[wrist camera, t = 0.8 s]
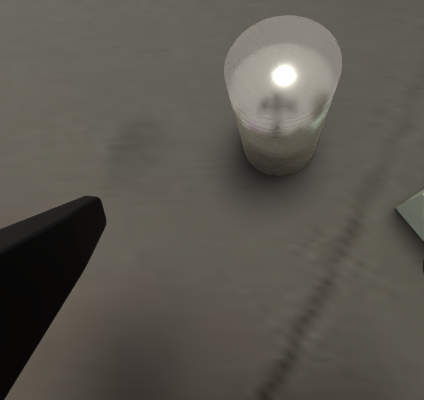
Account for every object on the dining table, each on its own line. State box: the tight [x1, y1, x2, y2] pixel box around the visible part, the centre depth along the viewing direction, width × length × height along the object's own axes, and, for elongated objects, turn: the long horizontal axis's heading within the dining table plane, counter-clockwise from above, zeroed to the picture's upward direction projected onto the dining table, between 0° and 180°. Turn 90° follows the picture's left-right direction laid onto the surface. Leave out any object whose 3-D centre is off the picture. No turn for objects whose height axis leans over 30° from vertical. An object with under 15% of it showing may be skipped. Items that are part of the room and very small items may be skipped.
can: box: [224, 16, 342, 176], centre depth 19 cm, size 5×5×9 cm
